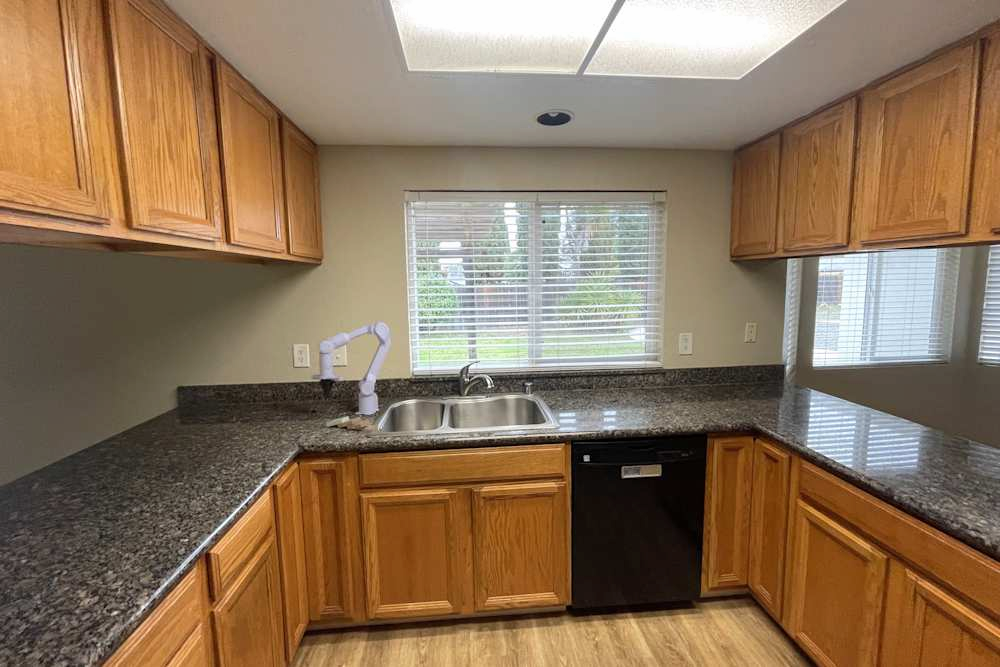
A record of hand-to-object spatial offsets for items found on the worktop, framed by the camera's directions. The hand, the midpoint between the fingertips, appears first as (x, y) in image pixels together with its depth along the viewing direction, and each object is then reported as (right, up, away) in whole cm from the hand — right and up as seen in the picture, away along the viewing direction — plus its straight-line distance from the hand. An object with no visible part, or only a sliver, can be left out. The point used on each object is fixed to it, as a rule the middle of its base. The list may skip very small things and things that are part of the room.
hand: (327, 395), depth 191 cm
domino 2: (+12, -11, -12) cm, 20 cm away
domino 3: (+16, -11, -14) cm, 24 cm away
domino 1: (+6, -10, -11) cm, 16 cm away
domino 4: (+19, -12, -14) cm, 26 cm away
